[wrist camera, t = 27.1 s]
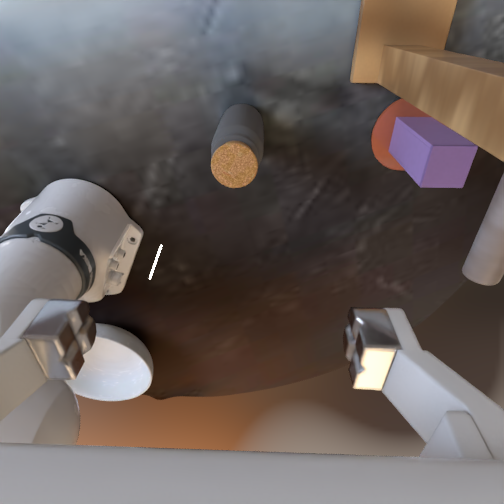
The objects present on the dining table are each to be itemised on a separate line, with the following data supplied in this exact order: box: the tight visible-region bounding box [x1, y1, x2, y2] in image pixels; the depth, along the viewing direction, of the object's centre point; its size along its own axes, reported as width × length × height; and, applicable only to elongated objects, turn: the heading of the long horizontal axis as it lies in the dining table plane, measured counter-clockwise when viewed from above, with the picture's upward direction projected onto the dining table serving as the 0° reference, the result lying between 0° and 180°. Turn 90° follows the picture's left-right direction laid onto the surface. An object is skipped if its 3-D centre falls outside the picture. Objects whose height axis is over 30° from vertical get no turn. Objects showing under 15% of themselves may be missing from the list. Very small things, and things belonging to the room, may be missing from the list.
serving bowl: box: [65, 323, 153, 401], centre depth 70 cm, size 21×21×7 cm
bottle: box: [211, 104, 264, 188], centre depth 41 cm, size 6×6×15 cm
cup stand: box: [350, 0, 504, 285], centre depth 29 cm, size 18×10×33 cm, turn 0°
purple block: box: [389, 117, 478, 188], centre depth 42 cm, size 12×5×5 cm
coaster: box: [371, 98, 449, 170], centre depth 47 cm, size 10×10×1 cm
